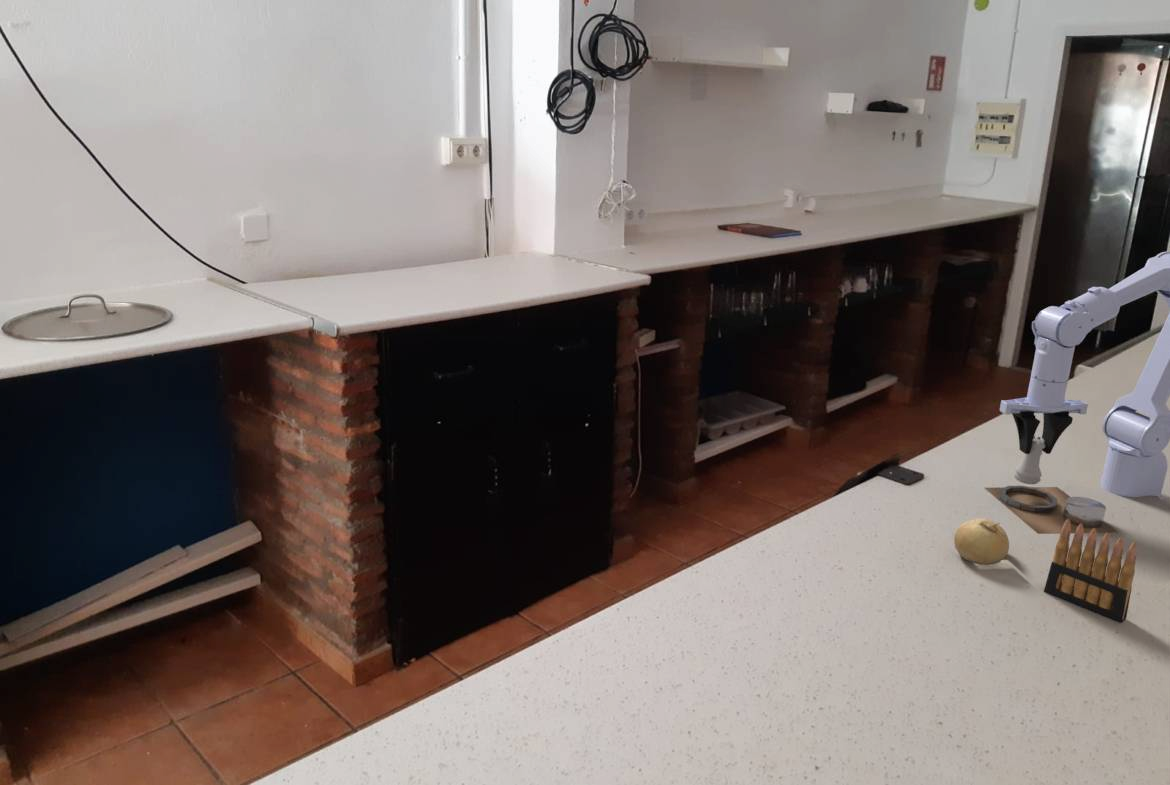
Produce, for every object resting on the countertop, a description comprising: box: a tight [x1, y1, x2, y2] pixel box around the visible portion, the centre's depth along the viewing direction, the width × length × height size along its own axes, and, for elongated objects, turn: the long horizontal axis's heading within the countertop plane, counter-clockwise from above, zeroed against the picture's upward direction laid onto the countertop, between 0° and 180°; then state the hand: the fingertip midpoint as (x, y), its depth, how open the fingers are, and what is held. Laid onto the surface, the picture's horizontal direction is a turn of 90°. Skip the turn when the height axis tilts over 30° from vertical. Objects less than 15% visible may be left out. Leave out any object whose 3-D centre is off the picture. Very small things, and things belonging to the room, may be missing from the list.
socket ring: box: [1000, 485, 1057, 513], centre depth 162 cm, size 9×9×1 cm
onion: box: [953, 517, 1010, 566], centre depth 143 cm, size 8×8×7 cm
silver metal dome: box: [1063, 496, 1107, 528], centre depth 155 cm, size 6×6×3 cm
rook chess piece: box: [1013, 435, 1046, 485], centre depth 161 cm, size 4×4×8 cm
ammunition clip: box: [1043, 519, 1138, 624], centre depth 130 cm, size 11×2×12 cm, turn 41°
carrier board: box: [984, 486, 1119, 535], centre depth 160 cm, size 14×18×1 cm
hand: (1034, 451), depth 160 cm, fingers closed on rook chess piece, 3 cm apart
